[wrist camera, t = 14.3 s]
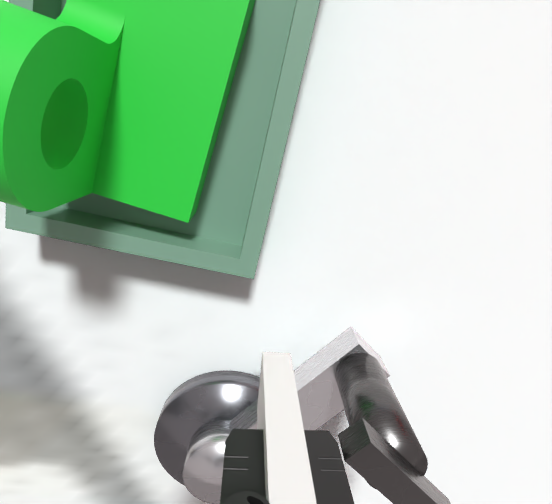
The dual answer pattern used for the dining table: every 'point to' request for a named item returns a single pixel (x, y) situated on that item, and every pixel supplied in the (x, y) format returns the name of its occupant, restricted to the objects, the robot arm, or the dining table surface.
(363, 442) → the crank
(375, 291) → the dining table surface
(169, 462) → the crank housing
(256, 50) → the tray
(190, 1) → the mechanical part
